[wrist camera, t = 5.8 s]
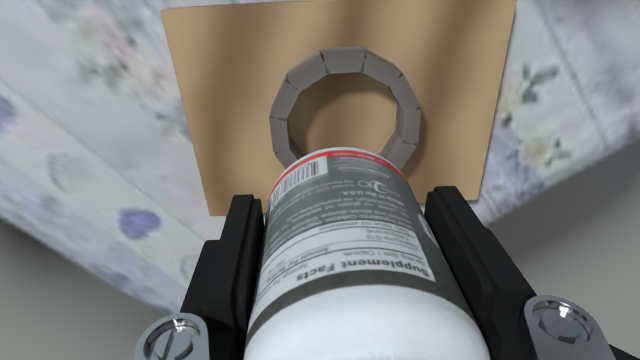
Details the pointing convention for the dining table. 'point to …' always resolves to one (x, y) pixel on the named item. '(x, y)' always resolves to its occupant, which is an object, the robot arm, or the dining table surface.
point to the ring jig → (339, 87)
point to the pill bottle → (354, 270)
